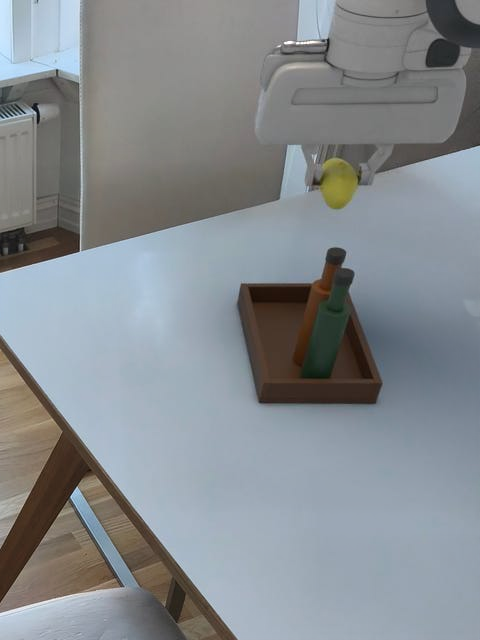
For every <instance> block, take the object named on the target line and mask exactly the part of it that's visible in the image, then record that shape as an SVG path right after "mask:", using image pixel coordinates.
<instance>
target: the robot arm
mask: <svg viewBox="0 0 480 640" xmlns="http://www.w3.org/2000/svg"><path fill="white" fill-rule="evenodd" d="M472 49H480V0H335V2H334V6H333V13H332V17H331V21H330V25H329V29H328V33H327V38H318V39H317V38H316V39H314V38H313V39H306V40H296V39H286V40H283V41H281V42H280V44H279V45H275V46H274V47H272V48H271V49H270V50H269V51H268V52H267V53H266V54H265V56H264V59H263V61H262V65H261V71H260V77H259V78H260V79H259V80H260V85H261V88H262V89H261V92H260V95H259V99H258V103H257V106H256V110H255V114H254V120H253V132H254V136H255V137H256V139H257V140H258V142H259V143H260V145H262V146H300V149H301V151H302V154H303V157H304V160H305V163H306V171H305V174H304V184H305V186H306V187H318V186H320V185H321V178H322V177H323V173H324V170H323V168H322V166H323V164H322V163H315V162H314V159H313V155H315V156H316V155H318V153H319V148H320V145H321V146H323V145H324V146H326V145H329V146H330V145H332V146H333V145H374V146H375V148H376V149H375V151H374V153H373V154H372V155H371V157H370V158H369V159H368V160H367V162H360V163H358V167H357V172H356V175H357V177H358V187H371V186H372V185H373V184H374V183H373V182H374V179H375V176H376V172H377V171H378V170H379V169H380V168H381V166H383V164H384V163H385V162H386V161H387V160H388V159H389V158H390V157H391V155H392V154H393V151H394V147H395V145H397V144H398V145H401V144H406V145H407V144H408V145H409V144H442V143H445V141H447V140H448V139H449V138H450V137H451V136H452V135H453V134H454V133H455V131H456V128H457V125H458V122H459V120H460V116H461V113H462V108H463V104H464V99H465V95H466V91H467V76H466V73H465V71H464V70H463V67H465V66H466V65H467V63H468V61H469V59H470V57H471V53H472ZM278 51H279V52H278Z"/></svg>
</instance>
